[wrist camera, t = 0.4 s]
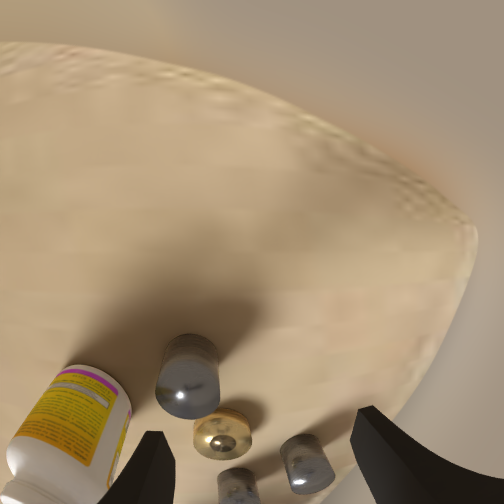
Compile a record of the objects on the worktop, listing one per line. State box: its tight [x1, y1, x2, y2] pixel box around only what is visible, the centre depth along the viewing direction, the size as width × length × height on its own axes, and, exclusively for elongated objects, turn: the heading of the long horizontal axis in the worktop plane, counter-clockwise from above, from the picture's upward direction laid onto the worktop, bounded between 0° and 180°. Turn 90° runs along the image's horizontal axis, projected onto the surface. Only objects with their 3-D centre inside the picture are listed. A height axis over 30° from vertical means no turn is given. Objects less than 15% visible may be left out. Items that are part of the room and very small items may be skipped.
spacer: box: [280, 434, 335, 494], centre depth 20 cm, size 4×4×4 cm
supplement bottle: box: [0, 365, 132, 504], centre depth 12 cm, size 7×7×13 cm
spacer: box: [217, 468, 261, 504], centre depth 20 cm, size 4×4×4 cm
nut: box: [193, 408, 252, 460], centre depth 20 cm, size 4×4×2 cm
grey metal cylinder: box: [155, 334, 220, 420], centre depth 17 cm, size 4×4×4 cm
